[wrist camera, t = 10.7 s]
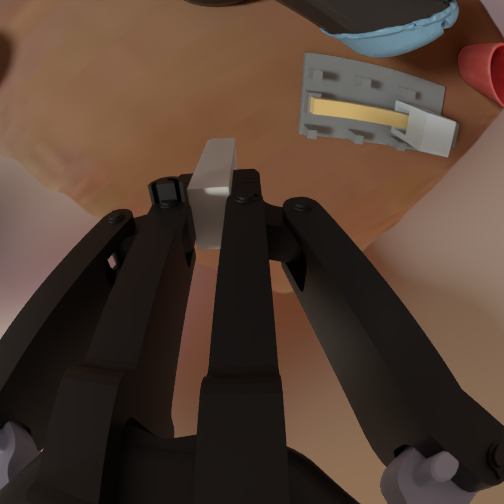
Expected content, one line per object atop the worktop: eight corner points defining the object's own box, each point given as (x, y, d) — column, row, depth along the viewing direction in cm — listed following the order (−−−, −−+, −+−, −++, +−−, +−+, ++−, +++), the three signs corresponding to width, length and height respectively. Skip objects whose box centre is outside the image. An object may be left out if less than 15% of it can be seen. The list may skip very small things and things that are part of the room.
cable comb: (304, 52, 30) (315, 50, 25) (442, 86, 31) (468, 94, 26) (298, 132, 38) (307, 146, 32) (429, 152, 38) (451, 168, 33)
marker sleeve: (396, 99, 32) (427, 112, 25) (423, 107, 32) (456, 122, 25) (390, 131, 35) (419, 150, 28) (417, 137, 35) (448, 157, 28)
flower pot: (467, 105, 32) (504, 123, 25) (440, 51, 27) (480, 57, 20) (497, 81, 28) (534, 95, 20) (473, 29, 23) (512, 33, 15)
